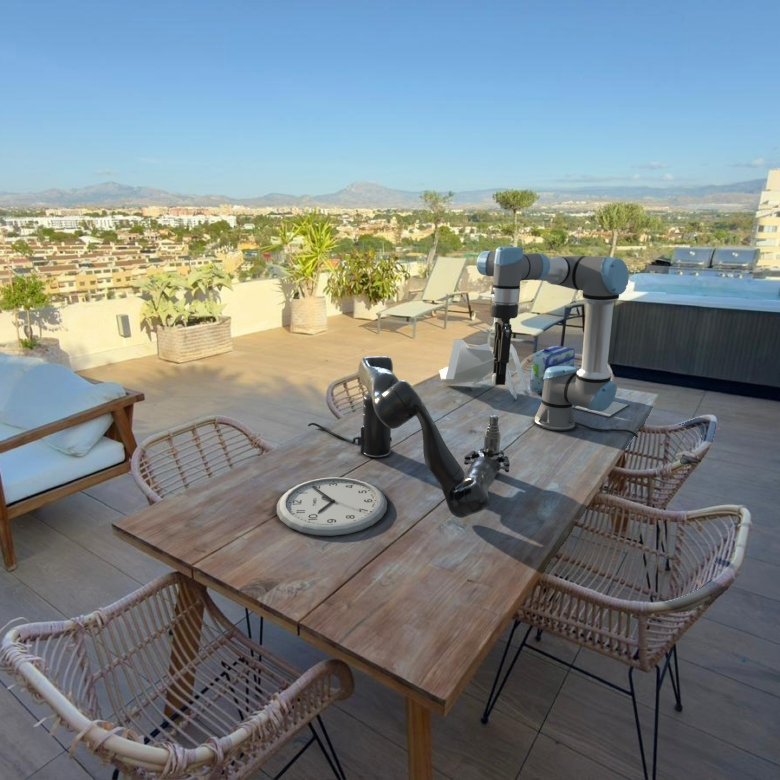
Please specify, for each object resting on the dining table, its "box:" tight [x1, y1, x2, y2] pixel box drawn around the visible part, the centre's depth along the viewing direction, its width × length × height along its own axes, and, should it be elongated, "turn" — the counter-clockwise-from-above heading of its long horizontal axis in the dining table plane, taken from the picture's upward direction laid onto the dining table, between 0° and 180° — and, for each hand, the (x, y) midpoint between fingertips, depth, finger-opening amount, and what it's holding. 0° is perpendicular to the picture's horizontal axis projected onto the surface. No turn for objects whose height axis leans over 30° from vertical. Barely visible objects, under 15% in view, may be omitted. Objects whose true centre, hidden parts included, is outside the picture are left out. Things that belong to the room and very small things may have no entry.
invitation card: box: [573, 400, 629, 418], centre depth 226 cm, size 21×1×15 cm
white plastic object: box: [438, 318, 531, 400], centre depth 245 cm, size 37×45×31 cm
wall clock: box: [276, 476, 388, 537], centre depth 142 cm, size 30×2×30 cm
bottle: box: [483, 414, 501, 476], centre depth 161 cm, size 5×5×19 cm
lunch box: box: [529, 345, 576, 394], centre depth 244 cm, size 26×11×21 cm, turn 135°
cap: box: [491, 373, 507, 384], centre depth 155 cm, size 4×4×2 cm
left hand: (492, 451), depth 164 cm, fingers closed on bottle, 4 cm apart
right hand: (498, 382), depth 155 cm, fingers closed on cap, 4 cm apart
